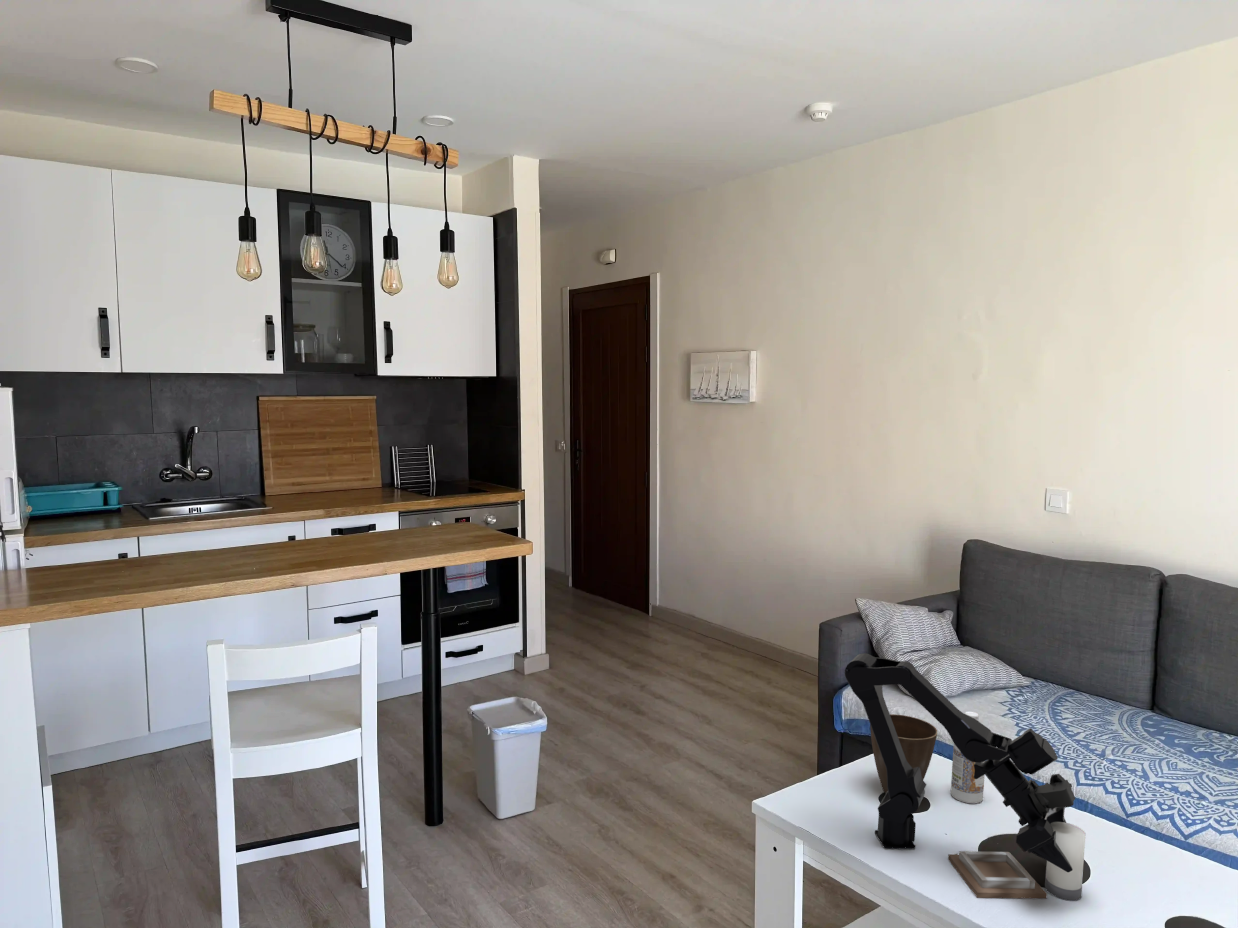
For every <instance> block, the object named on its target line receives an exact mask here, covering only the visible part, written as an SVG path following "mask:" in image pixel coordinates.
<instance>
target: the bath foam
mask: <svg viewBox="0 0 1238 928" xmlns="http://www.w3.org/2000/svg"><path fill="white" fill-rule="evenodd" d="M964 714H966V715H968V716H970V717H972V718H974V719H976V720H977V721H979V717H980V716H979V713H977V712H975V711H965V713H964ZM952 749H953V750H952V766H951V779H950V794H951V796H952V797H953V798H954V799H956V800H957V801H959V802H962V803H967V804H979V803H981V802H982V801H983V800H984V789H985V788H984V787H985V776H986V775H985V774H984V775H983V776H981V777H980V778H978V779H974V772H975V769H974V764H975V762H971V761H969V760H968V759H966V758H965V757H964V756H963V754H962V753H961V752H960V750H959V749H958V748H957V747H956V745H955V744H954V743H953V747H952ZM984 762H985V761H984Z"/></svg>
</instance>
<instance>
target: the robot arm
mask: <svg viewBox="0 0 1238 928" xmlns="http://www.w3.org/2000/svg"><path fill="white" fill-rule="evenodd" d="M844 676H845V677H844V678H845V680H846V681H847V683H848V685H849V686H850V687H849V688H850V689H851V691H852V692H853V695H855V696H856V697H857V699H859V701H860V702H861V703H862V705H863V707H864V712H865V714H866V716H867V718H868V719H867V720H868V721H869V726H870V725H871V728H872V730H873V733H874V736H875V739H876V742H877V744H878V747H879V750H880V753H881V756H882V758H883V761H884V764H885V767H886V771H887V788H888V791H887V793H885V795H884V797H883V798H882V799H881V801H880V804H879V805H878V807H877V811H878V821H877V822H878V823H877V830H875V831H874V834H875V836H876V837H877V839H878V841H879V842H880V844H881V846H882V847H883V848H884V849H890V850H892V849H893V850H895V849H896V850H897V849H898V850H899V849H900V850H902V849H903V850H915V849H916V845H915V843H914V842H915V840H916V828H917V827H916V824H917V823H916V821H915V819H914V816H915V815H914V814H915V812H917V811H918V809H919V808H920V805H921V803H922V800H923V799H924V796H925V793H926V791H925V789H926V787H927V783H926V782H925V780H923V779H922V776H921V771H920V768H919V767H916V768H912V767H911V766H910V764H909V763H908V762H907V760H906V758H905V755H904V752H903V750H902V747H901V744H900V741H899V739H898V736H897V733H896V730H895V728H894V725H893V722H892V719H891V717H890V711H889V709H888V706H887V703H886V700H885V698H884V694H883V691H884V689H883V686H887V685H896V686H897V685H899V686H901V687H902V688H903V689H904V690H905V691H907V693H908V694H910V695H911V696H912V698H914V699H915V700H916V701H917V703H919V704H920V706H922V707H923V708H924V709H925V710H926V711H927V712H928V713H929V714H930V715H931V716H932V717H933V718H934V719H936V721H937V722H939V724H940V725H941V726H943V728H944V729H945V731H946V732H947V733H948V735H949V737H950V739H951V741H952V742H953V745H954V744H955V745H956V747H957V748H958V749H959V750H960V752H961V753H962V754H963V756H964V757H965V758H966V759H968V760H969V761H971V762H975V764H974V769H975V772H974V779H978V778H980V777H981V776H983V775H984V774H985V776H986V778H987V779H988V780H989V782H990V783H991V784H992V785H993V787H994V788H995V790H997V791H998V793H999V794H1000V795H1001V797H1002V798H1003V801H1002V803H1003V805H1004V806H1005V807H1006V808H1007V807H1009V806H1010V808H1011V809H1012V810H1013V811H1014V813H1015V814H1016V815H1017V816H1018V817H1019V818H1018V824H1019V825H1020V826H1021V827H1020V828H1019V830H1018V832H1017V834H1016V840H1015V843H1016V844H1017V846H1018V847H1019V848H1020V849H1021V851H1022V852H1024V853H1025V852H1027V853H1028V854H1033V855H1035V856H1038V857H1040V858H1042V859H1043V860H1045V861H1046V862H1047V861H1049V862H1050V863H1052V864H1054V865H1056V866H1057V867H1059V868H1061V869H1063V870H1064V871H1066V872H1070V871H1072V870H1073V869H1072V867H1071V865H1070V863H1069V862H1068V860H1067V859H1066V857H1065V856H1064V854H1063V852H1062V851H1061V849H1060V848H1059V846H1058V845H1057V843H1056V831H1054V830H1053V828H1052V826H1051V823H1053V822H1065V823H1067V821H1066V818H1065V809H1066V808H1070V807H1073V806H1074V804H1075V803H1074V802H1075V800H1076V797H1075V793H1074V791H1073V788H1072V787H1073V784H1072V783H1070V782H1069V780H1068V779H1065V778H1064V777H1063V776H1062V775H1061V774H1060V773H1054V774H1051V775H1050V779H1049V782H1046V783H1044V784H1042V785H1039V784H1038V783H1037V782H1036V781H1035V780H1033V779H1029V780H1028V779H1027V777H1026V776H1024V774H1025V775H1028V774H1029V775H1034V774H1036V773H1037V772H1039V771H1041V770H1043V769H1044V768H1047V766H1050V765H1051V764H1052V763H1054V762H1055V761H1057V760H1059V759H1058V755H1057V752H1056V751H1055V749H1054V747H1053V746H1052V744H1050V742H1049V740H1047V739H1046V738H1044V737H1043V736H1042V735H1041V734H1039V733H1038V732H1035V730H1033V728H1032V727H1030V728H1028V729H1026V730H1025V731H1024V732H1023V733H1021V734H1020V735H1019V736H1017V737H1016V738H1014V739H1013V740H1012V738H1011V737H1006V736H1005V735H1001V734H998V733H995V732H993V731H992V730H990V728H988V726H986V725H984V724H983V723H982V722H980V721H979V720H978V721H977V720H976V719H974V718H972V717H970V716H968V715H966V714H965V713H964V712H962V711H961V710H960V709H958V708H957V707H956V706H955V705H954V704H953V702H950V700H949V699H948V698H947V697H946V696H945V695H943V693H941V691H940V690H938V689H937V688H936V687H935V686H934V684H932V683H931V682H930V681H929V680H928V679H927V678H926V677H925V676H923V674H922V673H920V671H918V670H917V668H916V667H915V665H914V664H913V663H912V662H909V661H905V660H904V661H903V660H896V659H890V658H886V657H875V656H873V655H871V654H869V653H859V654H857V655H856V656H855V657H853V659H851V660H850V661H849V663H847V665H846V667H845V669H844ZM984 761H985V762H984ZM1023 773H1024V774H1023ZM1053 831H1054V832H1053Z"/></svg>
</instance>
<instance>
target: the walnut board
mask: <svg viewBox="0 0 1238 928" xmlns="http://www.w3.org/2000/svg"><path fill="white" fill-rule="evenodd" d="M958 852H959V853H957V854H955V853H954V854H953V853H952V854H949V853H948V855H947V859H948V861H949V863H950V864H951V865H952V866H953V867H954V869H955V870H956V872H957V873H958V874H959V876H960V877H961V878H962V880H963V881H964V882H965V884H966V885H967V886H968V888H969V889H970V891H971V892H972V893H973V894H974V896H975V897H976V898H979V899H1039V900H1040V899H1041V900H1043V899H1047V897H1048V896H1047V893H1048V892H1047V891H1045V890H1044V889H1043V888H1042V886H1041V885H1040V884H1039V883H1038V882H1037V881H1036V880H1035V879H1034V877H1033V876H1032V875H1031V874H1030V873H1029V872H1028V871H1027V870H1026V869H1025V867H1024V866H1023V865H1022V864H1021V863H1020V862H1019V861H1018V859H1016V858H1015V856H1014V855H1013V854H1011V852H1010V851H977V850H976V851H975V850H974V851H973V850H972V851H969V850H967V851H965V850H960V851H958Z"/></svg>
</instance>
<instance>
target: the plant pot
mask: <svg viewBox="0 0 1238 928" xmlns="http://www.w3.org/2000/svg"><path fill="white" fill-rule="evenodd" d="M889 714H890V713H889ZM890 717H891V719H892V722H893V725H894V728H895V730H896V733H897V736H898V739H899V741H900V744H901V747H902V750H903V752H904V755H905V758H906V760H907V762H908V763H909V764H910V766H911V767H912V768H916V767H919V768H920V771H921V776H922V779H923V781H925V777H926V775H927V772H928V769H929V767H930V763H931V760H932V756H933V753H934V751H935V746H936V741H937V737H938V729H937V727H936V726H934V725H933V724H932V723H930V722H927V721H926V720H923V719H921V718H918V717H913V716H910V715H909V716H908V715H903V714H896V713H895V714H892V713H891V714H890ZM869 729H870V738H871V739H870V740H871V747H872V753H873V757H874V763H875V767H876V771H877V776H878V778H879V782H880V785H881V788H882V791H883V793H885V794H886V793H887V791H888V788H887V771H886V767H885V764H884V761H883V758H882V756H881V753H880V750H879V747H878V744H877V742H876V739H875V736H874V733H873V730H872V728H871V725H870V724H869Z"/></svg>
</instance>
